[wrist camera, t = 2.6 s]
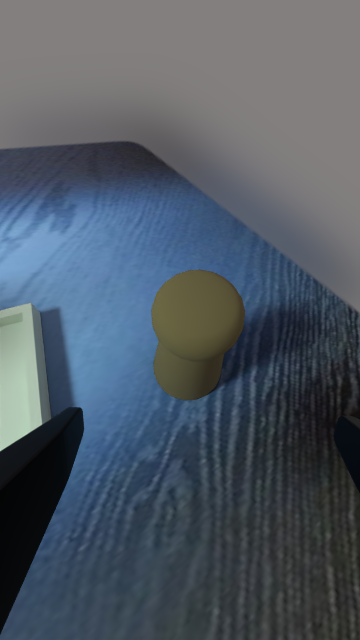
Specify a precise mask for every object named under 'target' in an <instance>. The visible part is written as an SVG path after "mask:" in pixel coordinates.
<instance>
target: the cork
mask: <svg viewBox="0 0 360 640" xmlns="http://www.w3.org/2000/svg"><path fill="white" fill-rule="evenodd" d="M151 312H152V325H153V329H154V331H155V333H156V336H157V338H158V340H159V342H158V346H157V350H156V354H155V359H154V363H153V364H154V375H155V377H156V380H157V382H158V384H159V385H160V386H161V388H162V389H163V390H164V391H165V392H166V393H168V394H169V395H171V396H173V397H174V398H178V399H182V400H195V399H199V398H201V397H203V396H206V395H208V394H209V393H210V392H211V391H212V390H213V389H214V388H215V387H216V385H217V383H218V381H219V379H220V376H221V370H222V363H223V357H224V354H225V353H226V352H227V351H228V350H229V349H230V348H231V347H232V346H234V345H235V343H236V342H237V340H238V338H239V336H240V334H241V332H242V330H243V327H244V318H245V309H244V305H243V301H242V298H241V296H240V295H239V293H238V292H237V290H236V289H235V287H234V286H233V285H232V284H231V283H230V282H229V281H228V280H226V279H225V278H224V277H222V276H220V275H218V274H216V273H214V272H210V271H205V270H188V271H185V272H182V273H179V274H177V275H175V276H174V277H172V278H171V279H169V280H168V281H167V282H165V283H164V284H163V285H162V287H161V288H160V289H159V291H158V292H157V294H156V296H155V299H154V303H153V306H152V309H151Z"/></svg>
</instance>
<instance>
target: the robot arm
mask: <svg viewBox="0 0 360 640" xmlns="http://www.w3.org/2000/svg"><path fill="white" fill-rule="evenodd" d="M83 432H84V421H83V411H82V409H81V408H80V407H69V408H67V409H66V410H64V411H62V412H61V413H59V414H58V415H56V416H55V417H53V418H51V419H50V420H48V421H47V422H45V423H44V424H42V425H40V426H39V427H37V428H36V429H34V430H33V431H31V432H29V433H28V434H26V435H25V436H23V437H22V438H20V439H18V440H17V441H15V442H14V443H12V444H11V445H9V446H7V447H6V448H4V449H3V450H1V451H0V634H1V632H2V629H3V627H4V625H5V622H6V620H7V618H8V616H9V613H10V611H11V609H12V607H13V604H14V602H15V600H16V597H17V595H18V593H19V591H20V588H21V586H22V584H23V582H24V579H25V577H26V575H27V573H28V570H29V568H30V566H31V563H32V561H33V559H34V557H35V554H36V552H37V550H38V548H39V545H40V543H41V541H42V538H43V536H44V534H45V532H46V529H47V527H48V525H49V523H50V520H51V518H52V516H53V513H54V511H55V509H56V507H57V504H58V502H59V500H60V498H61V495H62V493H63V491H64V489H65V486H66V484H67V481H68V479H69V476H70V473H71V470H72V467H73V464H74V461H75V458H76V455H77V452H78V449H79V445H80V442H81V439H82V436H83ZM334 441H335V444H336V446H337V448H338V450H339V452H340V454H341V456H342V458H343V460H344V462H345V465H346V467H347V469H348V471H349V473H350V475H351V477H352V479H353V481H354V483H355V485H356V487H357V489H358V491H359V492H360V420H359V419H357V418H355V417H353V416H340V417H339V418H338V421H337V424H336V428H335V432H334Z"/></svg>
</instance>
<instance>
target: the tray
mask: <svg viewBox="0 0 360 640" xmlns="http://www.w3.org/2000/svg"><path fill="white" fill-rule="evenodd" d="M50 419H51V411H50V401H49V392H48V382H47V373H46V364H45V354H44V345H43V335H42V326H41V316H40V312H39V311H38V310H37V309H36V308H35V306H34V305H33V304H32V303H28V304H24V305H20V306H16V307H12V308H8V309H4V310H0V451H1V450H3V449H4V448H6V447H7V446H9V445H11V444H12V443H14V442H15V441H17V440H18V439H20V438H22V437H23V436H25V435H26V434H28V433H29V432H31V431H33V430H34V429H36V428H37V427H39V426H40V425H42V424H44V423H45V422H47V421H48V420H50Z"/></svg>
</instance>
